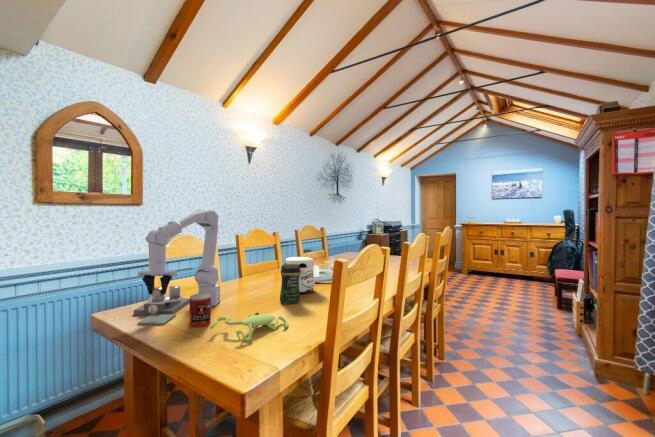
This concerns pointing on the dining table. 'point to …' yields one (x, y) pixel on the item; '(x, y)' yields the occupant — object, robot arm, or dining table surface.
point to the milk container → (304, 273)
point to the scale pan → (166, 299)
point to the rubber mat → (157, 319)
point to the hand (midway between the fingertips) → (157, 294)
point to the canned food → (200, 309)
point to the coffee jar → (290, 284)
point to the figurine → (252, 323)
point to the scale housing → (161, 307)
